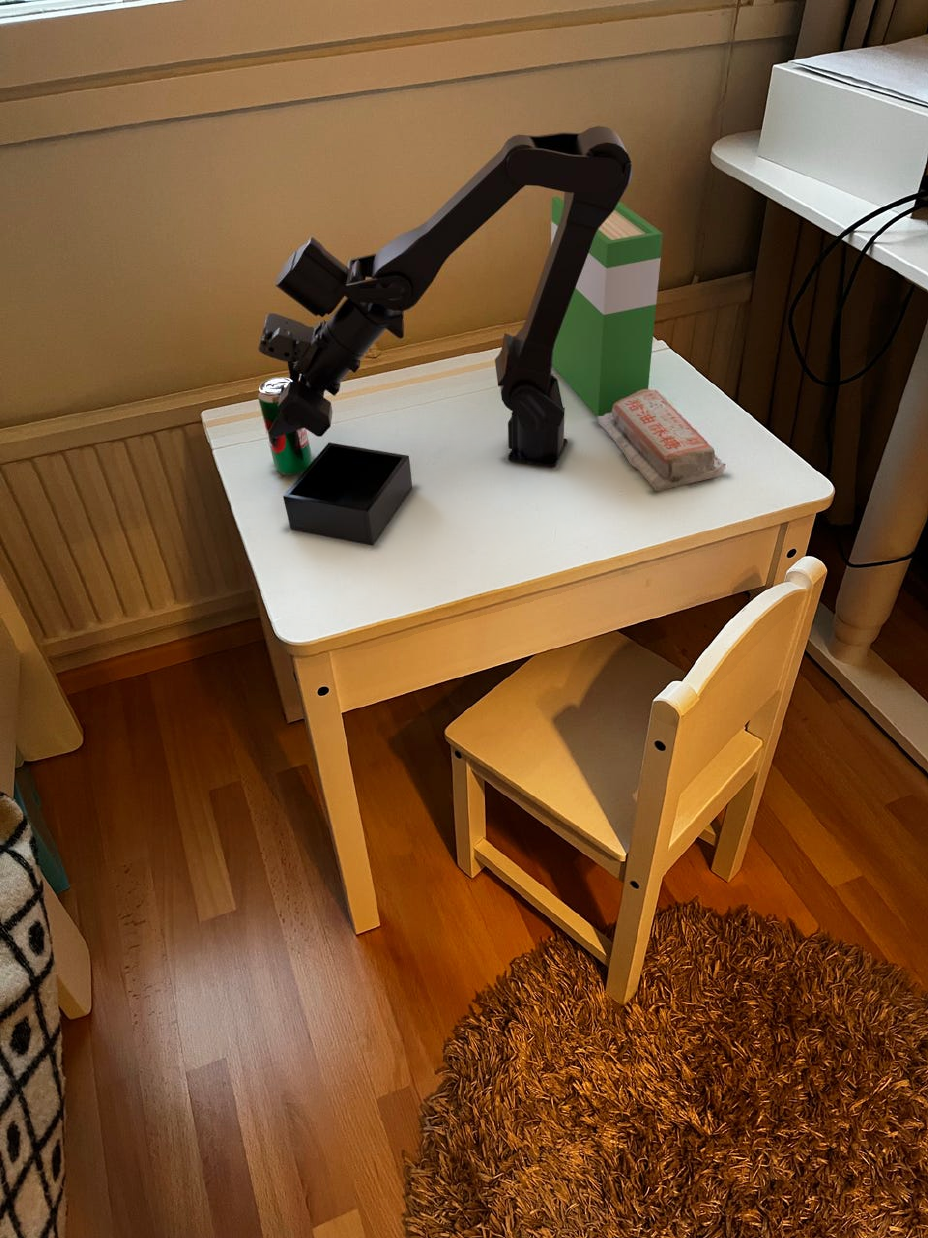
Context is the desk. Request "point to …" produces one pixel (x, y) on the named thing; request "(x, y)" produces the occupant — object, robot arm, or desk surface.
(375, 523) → the open black square box
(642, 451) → the packaged product
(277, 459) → the soda can
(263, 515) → the desk surface
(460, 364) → the desk surface
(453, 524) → the desk surface
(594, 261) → the hardback book
